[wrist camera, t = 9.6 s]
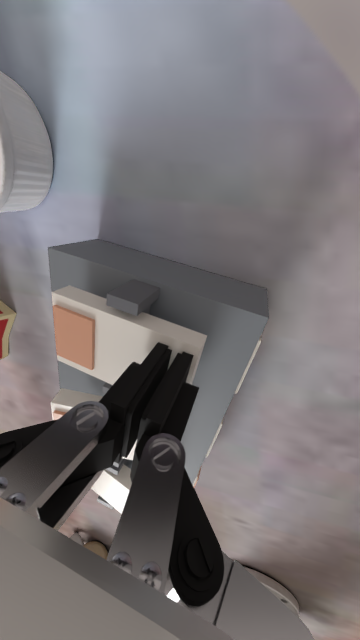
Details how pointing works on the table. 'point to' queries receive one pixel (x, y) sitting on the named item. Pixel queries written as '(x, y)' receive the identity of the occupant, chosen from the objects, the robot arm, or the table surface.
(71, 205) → the table surface
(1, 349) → the milk carton
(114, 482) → the rocker
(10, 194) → the ramekin
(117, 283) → the switch unit
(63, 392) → the block
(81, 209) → the table surface
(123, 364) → the rocker
